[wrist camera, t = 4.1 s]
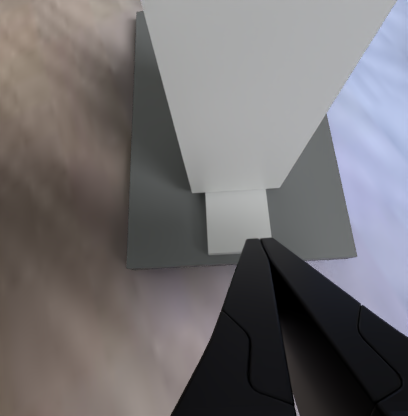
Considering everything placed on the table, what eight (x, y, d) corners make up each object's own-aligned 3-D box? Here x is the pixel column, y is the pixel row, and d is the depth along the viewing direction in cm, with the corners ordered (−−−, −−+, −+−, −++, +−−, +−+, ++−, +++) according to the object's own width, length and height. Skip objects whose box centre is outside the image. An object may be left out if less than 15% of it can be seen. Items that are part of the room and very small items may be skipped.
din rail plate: (346, 258, 16) (394, 248, 11) (132, 269, 16) (103, 263, 12) (296, 13, 22) (316, -54, 17) (140, 26, 22) (122, -36, 18)
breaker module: (277, 191, 15) (430, -53, 4) (192, 196, 16) (134, -26, 5) (265, 108, 17) (355, -219, 6) (190, 114, 17) (141, -195, 6)
